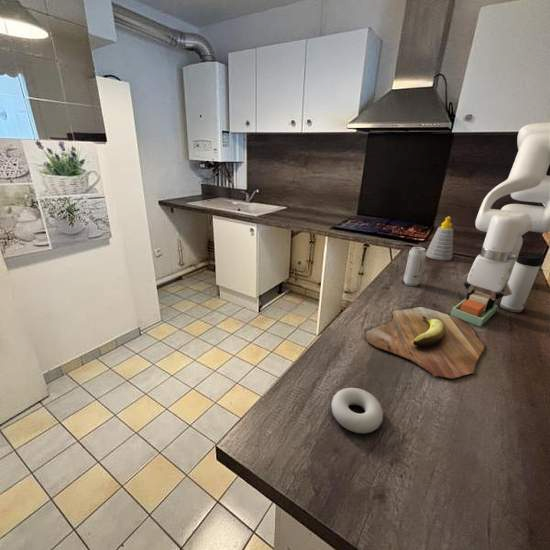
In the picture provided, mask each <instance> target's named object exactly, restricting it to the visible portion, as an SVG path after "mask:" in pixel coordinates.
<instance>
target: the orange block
mask: <svg viewBox="0 0 550 550" xmlns="http://www.w3.org/2000/svg"><path fill="white" fill-rule="evenodd" d="M484 307H485V305H484V304H481V303H478V302H475V301H472V300H469V299H468V300H466V301H465V302H464V303H462V305H461V308H460V311H463V312H466V313H469V314H471V315H474V316H477V317H480V316H482V313H483V310H484Z"/></svg>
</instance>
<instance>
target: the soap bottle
mask: <svg viewBox="0 0 550 550" xmlns="http://www.w3.org/2000/svg"><path fill="white" fill-rule="evenodd" d="M451 219H452V217H451V216H449V215H448V216H446V217H445V220H443V222H441V225H440V226H438V227H437V228H436V231H435V233H434V235H433V238H432V239H431V241H430V242H429V245H428V247H427V249H426V250H425V251H426V257H427V258H429V259H431V260H437V261H444V262H445V261H451V260H452V259H453V250H454V249H453V247H454V245H453V244H454V229H453V228H452V225H453V223H452V222H451Z"/></svg>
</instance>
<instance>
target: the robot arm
mask: <svg viewBox="0 0 550 550" xmlns="http://www.w3.org/2000/svg"><path fill="white" fill-rule="evenodd" d="M517 133H518V134H517V139H516V140H517V141H516V142H517V143H516V145H517V150H518V151H517V153H516V156H515V159H514V162H513V164H512V167H511V169H510V171H509V174H508V177H507V179H505V180H504V181H502V182H501V183H499V184H498V185H496V186H494V187H493V188H492V189H491V190H490V191H489V192H488V193H487V194H486V196H484V198H483V200H482V202H481V205H480V207H479V210H478V213H477V215H476V217H475V222H474V224H475V228H476V229H477V230H478V231H480V232H486V235H485V238H484V241H483V243H482V248H481V251H480V254H478V255H476V257H475V260H474V261H473V263H472V265H471V267H470V270H469V272H468V273H467V274H466V275H464V276H462V277H460V278H459V281H460V282H461V283H462V284H463V286H464V287H465V289H466V292H467V294H466V297H465V298H466V300H468V299H469V298H470V295H471V294H473V293H474V292H475V290H476V288H477V287H478V288H481V289H484V290H488V291H490V295H491V297H490V298H489V301H488V303H487V306H486V310H489V309H490V308H492V307H493V305H495V302H496V300H498V299H502V298H503V297H504V296H509V295H511V294H512V291H511V289H510V287H509V285H508V281H509V278H510V276H511V273H512V270H513V267H514V265H515V262H516V260H517V257H518V254H520V252H521V249H522V246H523V242H524V239H523V237H522V236H523V235H525V234H526V233H528V232H532V233H533V232H534V233H540V234H546V233H550V175H547V172H548V169H549V166H550V122H537V123H536V122H534V123H529V124H526V125H523V126H522V127H521V128H520V129H519V130H518V132H517ZM507 195H510V197H511V199H513V200H515V201H520V202H529V203H530V202H531V203H540V204H544V205H545V206H541V205H531V204H525V203H524V204H522V203H509V204H506V205H503V206H502V207H501V208H500V209H497V208H492V206H493V204H494V203H495V202H496V201H497V200H499V199H500V198H503V197H505V196H507ZM503 290H504V291H503Z"/></svg>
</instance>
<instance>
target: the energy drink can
mask: <svg viewBox="0 0 550 550" xmlns="http://www.w3.org/2000/svg"><path fill="white" fill-rule="evenodd" d="M426 251H427V249H426V248H424V247H422V246H412V247H411V249H410V250H409V252H408V256H407V261H406V267H405V271H404V275H403V283H404V284H405V285H407V286H410V287H416V286H418V285H419V284H420V282H421V278H422V275H423V269H424V266H425V262H426V257H427V256H426Z"/></svg>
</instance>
